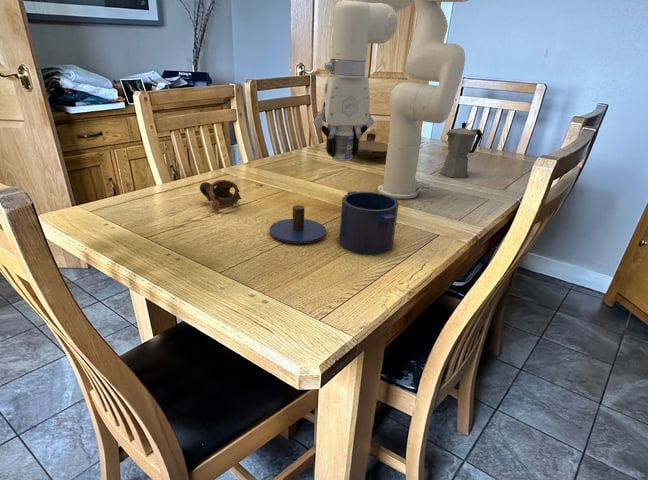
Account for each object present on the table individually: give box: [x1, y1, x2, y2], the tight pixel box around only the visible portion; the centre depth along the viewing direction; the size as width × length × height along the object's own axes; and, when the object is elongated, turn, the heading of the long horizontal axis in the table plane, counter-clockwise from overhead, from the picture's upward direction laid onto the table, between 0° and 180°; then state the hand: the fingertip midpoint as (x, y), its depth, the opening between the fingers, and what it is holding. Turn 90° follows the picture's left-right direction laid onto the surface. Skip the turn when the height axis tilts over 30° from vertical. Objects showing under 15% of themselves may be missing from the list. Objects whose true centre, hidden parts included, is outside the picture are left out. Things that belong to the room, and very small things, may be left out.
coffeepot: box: [440, 122, 483, 179], centre depth 155 cm, size 15×9×18 cm, turn 113°
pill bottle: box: [331, 126, 354, 163], centre depth 102 cm, size 5×5×8 cm
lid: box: [269, 204, 327, 244], centre depth 105 cm, size 14×14×7 cm
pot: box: [338, 190, 400, 256], centre depth 102 cm, size 13×18×10 cm
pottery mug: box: [199, 179, 242, 213], centre depth 119 cm, size 12×10×8 cm
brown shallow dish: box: [355, 128, 388, 159], centre depth 175 cm, size 22×30×8 cm
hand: (341, 154), depth 104 cm, fingers closed on pill bottle, 4 cm apart
